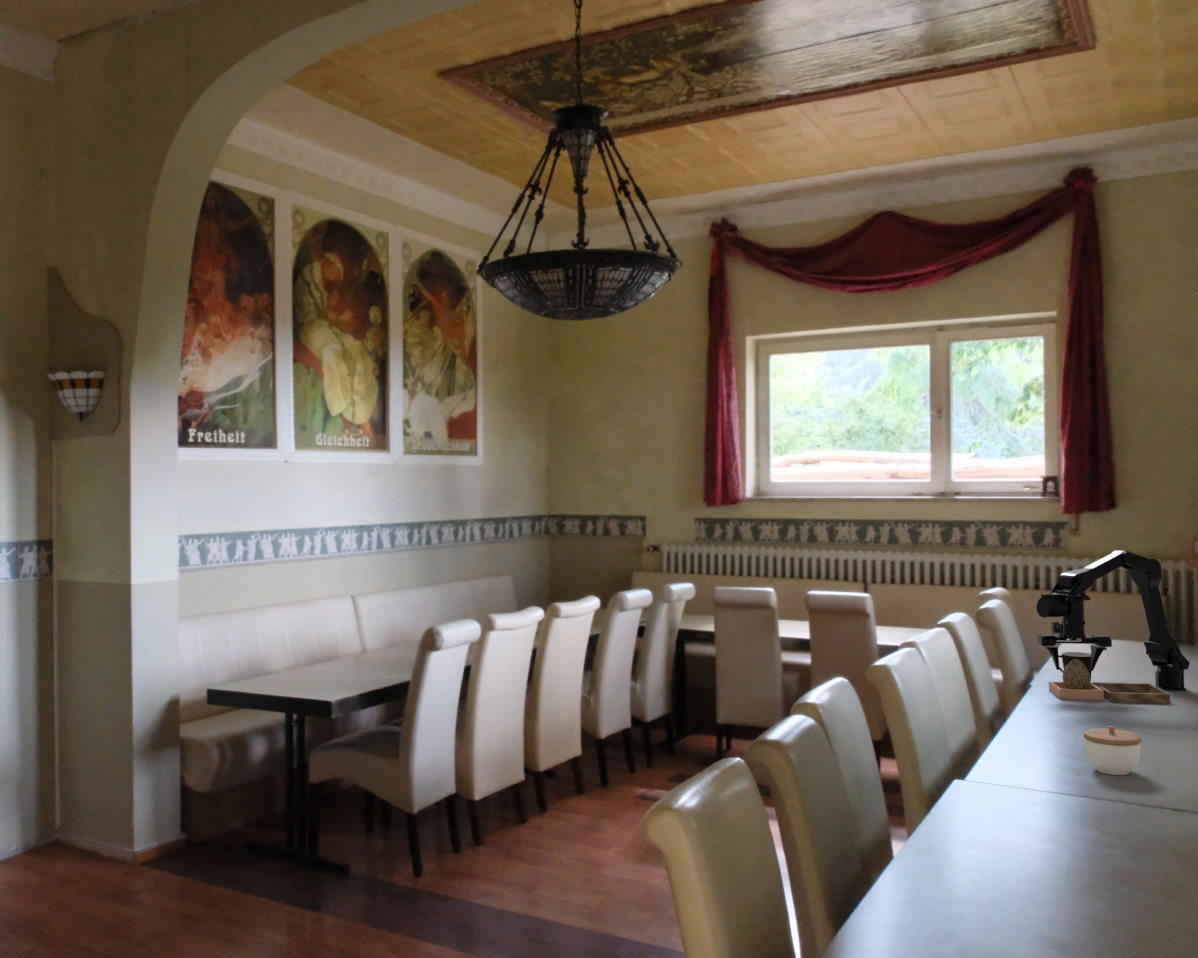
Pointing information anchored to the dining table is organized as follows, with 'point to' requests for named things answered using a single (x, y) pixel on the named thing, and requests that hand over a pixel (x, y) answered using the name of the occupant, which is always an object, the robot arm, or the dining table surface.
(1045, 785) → the dining table surface
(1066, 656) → the coffee mug
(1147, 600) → the robot arm
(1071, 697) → the terracotta dish
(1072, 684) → the decorative egg
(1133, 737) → the lidded jar
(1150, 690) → the tray
